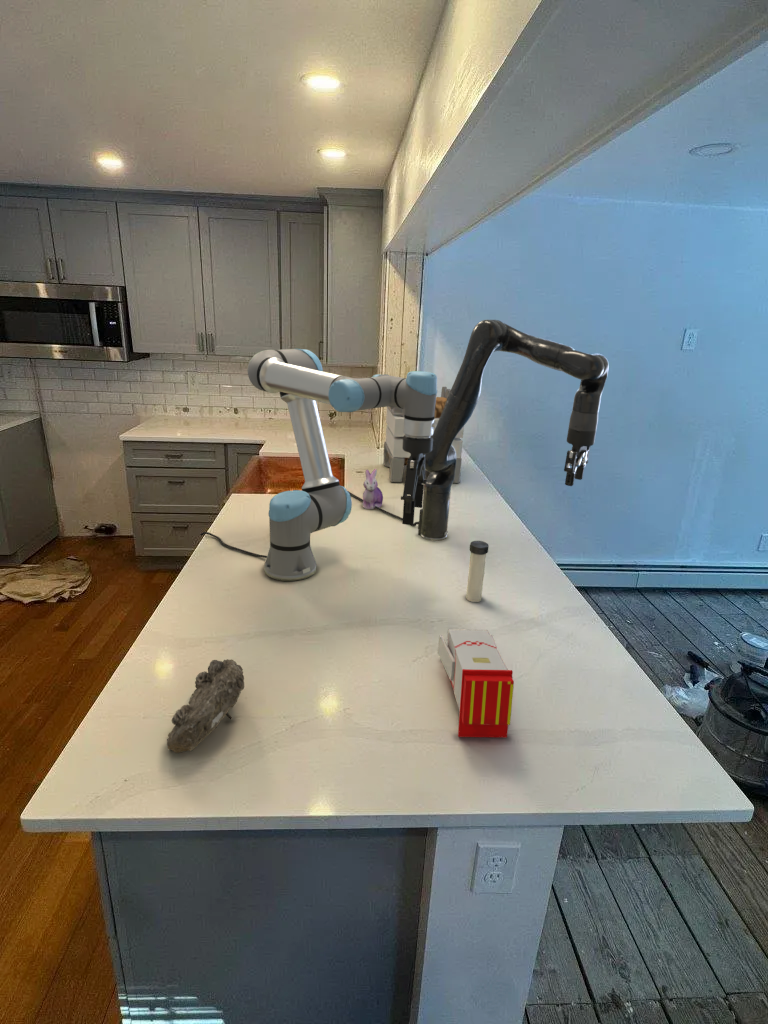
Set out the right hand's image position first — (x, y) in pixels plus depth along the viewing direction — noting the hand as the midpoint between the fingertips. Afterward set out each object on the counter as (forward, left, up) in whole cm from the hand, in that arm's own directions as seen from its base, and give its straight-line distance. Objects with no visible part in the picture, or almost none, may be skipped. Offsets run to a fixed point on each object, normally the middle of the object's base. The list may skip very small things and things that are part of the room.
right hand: (573, 482), depth 165 cm
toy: (+5, -70, -29) cm, 76 cm away
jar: (-13, -32, -29) cm, 45 cm away
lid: (-13, -32, -13) cm, 37 cm away
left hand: (-28, -43, -5) cm, 52 cm away
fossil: (-30, -108, -29) cm, 115 cm away
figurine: (-80, +11, -29) cm, 86 cm away
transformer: (-92, +65, -29) cm, 116 cm away
